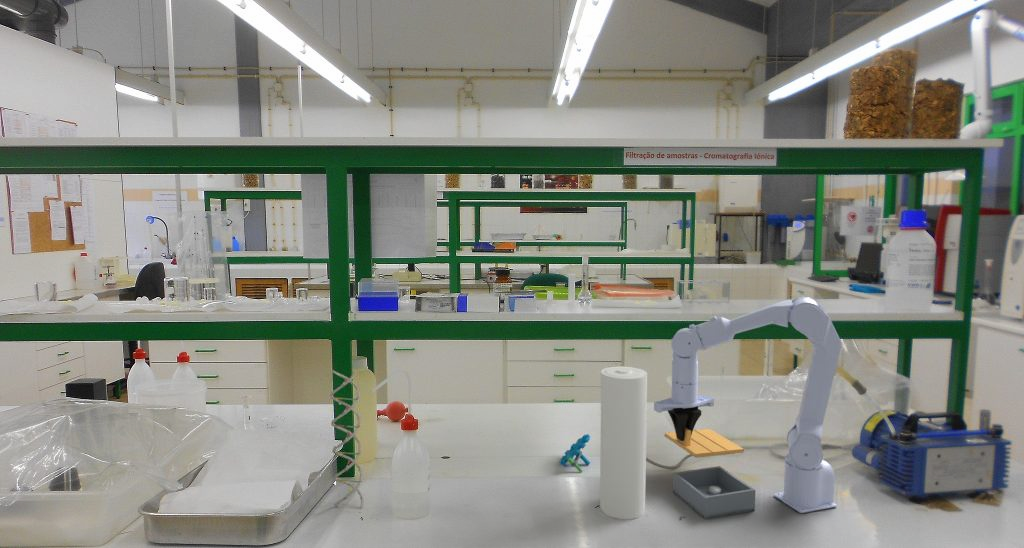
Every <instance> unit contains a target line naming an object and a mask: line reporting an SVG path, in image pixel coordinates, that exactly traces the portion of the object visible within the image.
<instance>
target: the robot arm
mask: <svg viewBox="0 0 1024 548" xmlns="http://www.w3.org/2000/svg"><path fill="white" fill-rule="evenodd" d="M788 323H790V324H791V326H792V327H793V328H794V329H795V330H796V331H797V332H799V333H801V334H802V335H804V336H805V337H806V338H807V339H808V340H809V341H810V342H811V344H812V345H813V350H812V354H811V359H810V363H809V367H808V371H807V376H806V381H805V385H804V389H803V393H802V399H801V403H800V406H799V411H798V413H797V414H798V415H797V417H796V418H795V422H794V424H793V426H792V427H791V428H790V429H789V430H788V432H787V435H786V442H787V444H788V453H787V454H786V455H785V456H784V470H783V471H784V472H783V473H784V475H783V476H784V477H783V491H782V492H776V493H774V494H773V496H774V497H775V498H776V499H778V500H779V501H781V502H783V503H784V504H786V505H787V506H789V507H791V508H792V509H794V510H795V511H797V512H798V513H801V514H803V513H805V514H806V513H811V512H815V511H821V510H825V509H830V508H831V509H832V508H837V503H835V502H834V500H835V499H834V498H835V480H836V479H835V476H836V475H835V473H834V472H835V471H834V469H833V467H832V466H831V464H829V462H828V461H826V460H824V453H823V449H822V440H823V425H824V421H825V416H826V412H827V407H828V403H829V399H830V395H831V391H832V387H833V383H834V379H835V374H836V370H837V367H838V366H837V365H838V362H839V359H840V358H839V357H840V353H841V349H842V340H841V338H840V336H839V334H838V331H836V328H835V326H834V324H833V321H832V319H831V317H830V316H829V315H828V314H827V312H826V310H825V309H824V308H823V306H821V305H820V304H819V303H818V301H816V300H815V299H813V298H811V297H807V296H799V297H797V298H794V299H793V300H791V299H788V300H787V299H786V300H782V301H779V302H774V303H773V304H769V305H767V306H763V307H762V308H759V309H756V310H753V311H751V312H748V313H746V314H742V315H740V316H738V317H735V318H731V319H728V318H725V317H723V316H720V317H717V316H716V315H714V316H711V317H710V318H709V320H708V321H704V322H702V323H699V324H694V323H692V324H689V326H688V327H685V328H680V329H679V330H677V331H676V333H675V334H674V336H673V337H672V339H671V342H670V343H671V344H670V345H671V349H672V351H673V353H672V360H671V361H672V362H671V365H672V366H671V396H670V397H668V398H665V399H662V400H659V401H653V410H654V411H655V412H657V413H659V414H660V413H663V412H667V413H668V415H669V417H670V419H671V421H672V423H673V428H674V432H676V437H677V438H678V439H679V440H681V441H684V438H685V427H686V428H687V429H689V430H690V431H691V435H692V432H693V430H695V429H694V428H695V425H696V423H697V422H698V420H699V419H700V417H701V416H702V410H701V409H699V408H701V407H715V398H714V397H711V396H709V395H706V396H705V395H703V396H702V395H701V396H700V395H698V393H699V390H698V389H699V388H698V387H699V362H698V357H699V356H698V352H699V350H701V351H705V350H708V349H712V348H715V347H717V346H718V347H719V346H721V345H724V344H727V343H730V342H732V341H733V339H734V337H735V335H736V334H739V333H743V332H746V331H751V330H754V329H758V328H761V327H765V326H768V325H777V326H780V327H785V328H789V324H788Z"/></svg>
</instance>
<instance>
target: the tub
mask: <svg viewBox="0 0 1024 548" xmlns="http://www.w3.org/2000/svg"><path fill="white" fill-rule="evenodd" d="M672 475H673V476H672V478H673V479H672V480H673V481H672V483H673V484H672V493H673V494H675V495H676V496H677V497H678V498H679V499H681V500H682V501H683V502H684V503H685V504H686V505H688V506H689V507H690V508H691V509H693V511H694V512H696V513H697V514H698V515H700V516H701V517H702V518H703V519H704V520H708V519H714V518H719V517H726V516H730V515H737V514H743V513H748V512H753V511H755V509H756V489H754V488H753V487H751V486H750V485H749V484H747V483H746V482H744V481H743V480H741V479H740V478H738V477H737V476H736V475H734V474H732V473H731V472H729V471H728V470H726V469H725V468H723V467H722V466H721V465H718V466H711V467H704V468H699V469H698V468H697V469H691V470H684V471H683V470H682V471H677V472H673V474H672Z"/></svg>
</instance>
